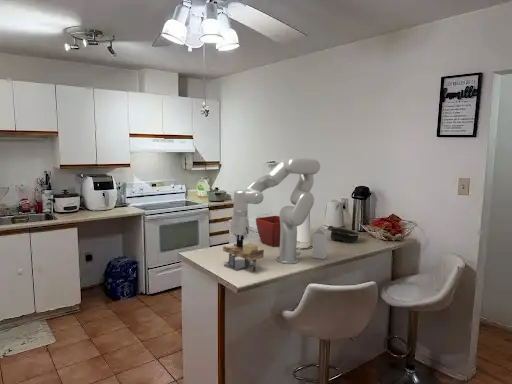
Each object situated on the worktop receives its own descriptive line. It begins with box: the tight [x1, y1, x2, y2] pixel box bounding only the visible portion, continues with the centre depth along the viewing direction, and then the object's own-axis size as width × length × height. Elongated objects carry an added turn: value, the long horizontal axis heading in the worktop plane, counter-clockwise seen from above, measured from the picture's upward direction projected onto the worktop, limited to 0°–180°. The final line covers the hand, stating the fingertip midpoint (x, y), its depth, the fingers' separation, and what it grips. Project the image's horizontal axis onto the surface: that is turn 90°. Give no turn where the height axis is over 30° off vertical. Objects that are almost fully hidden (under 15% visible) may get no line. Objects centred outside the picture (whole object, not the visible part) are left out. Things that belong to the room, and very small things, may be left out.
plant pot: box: [255, 215, 280, 248], centre depth 241 cm, size 19×19×17 cm
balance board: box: [222, 243, 265, 262], centre depth 191 cm, size 22×9×4 cm, turn 45°
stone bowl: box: [326, 225, 363, 244], centre depth 256 cm, size 25×25×9 cm
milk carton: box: [311, 224, 328, 260], centre depth 213 cm, size 7×7×19 cm
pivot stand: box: [223, 253, 257, 272], centre depth 192 cm, size 21×14×7 cm
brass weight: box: [243, 242, 259, 254], centre depth 186 cm, size 6×5×5 cm
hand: (239, 246), depth 193 cm, fingers closed
